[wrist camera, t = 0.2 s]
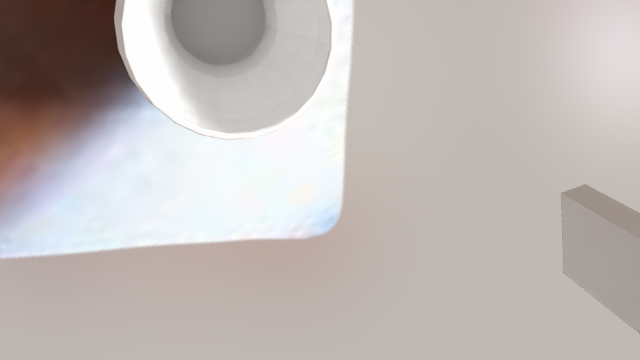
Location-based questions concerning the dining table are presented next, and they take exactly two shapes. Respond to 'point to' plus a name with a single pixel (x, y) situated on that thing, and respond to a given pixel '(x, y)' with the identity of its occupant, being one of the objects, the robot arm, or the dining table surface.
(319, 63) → the cup
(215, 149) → the dining table surface
